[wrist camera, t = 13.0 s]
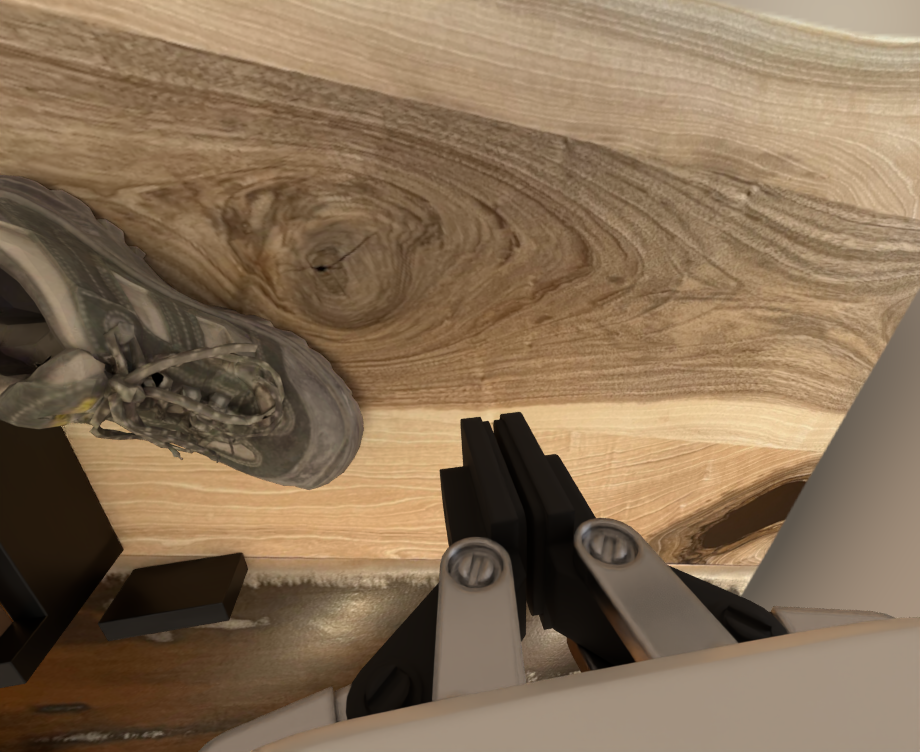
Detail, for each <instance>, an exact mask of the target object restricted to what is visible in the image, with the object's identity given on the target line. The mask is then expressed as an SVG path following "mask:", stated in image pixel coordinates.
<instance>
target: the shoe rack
mask: <svg viewBox="0 0 920 752" xmlns="http://www.w3.org/2000/svg"><path fill="white" fill-rule="evenodd" d="M122 551H123V549H122V547H121V545H120V543H119V541H118V539H117V537H116V535H115V533H114V531H113V530H112V528H111V526H110V524H109V522H108V520H107V518H106V516H105V514H104V512H103V510H102V508H101V506H100V504H99V502H98V500H97V498H96V496H95V494H94V492H93V490H92V488H91V486H90V484H89V482H88V480H87V478H86V476H85V474H84V472H83V470H82V468H81V466H80V464H79V462H78V460H77V458H76V456H75V454H74V452H73V450H72V448H71V446H70V445H69V443H68V441H67V439H66V437H65V435H64V433H63V431H62V429H61V427H60V426H56V427H50V428H43V429H34V428H27V427H19V426H16V425H13V424H10V423H8V422H5V421H2V420H1V419H0V602H1V604H2V605H3V607H4V608H5V609H6V611H7V612H8V614H9V615H10V617H11V618H12V619H13V623H12V621H11V620H10V619H9V617H8V616H7V614H6V613H5V612H4V610H3V609H2V607H1V606H0V688H3V687H9V686H14V685H20V684H25V683H26V682H27V681H28V680H29V678H30V677H31V676H32V674H33V673H34V671H35V670H36V669H37V667H38V666H39V665H40V663H41V662H42V661H43V659H44V658H45V656H46V655H47V654H48V652H49V651H50V650H51V648H52V647H53V646H54V644H55V643H56V641H57V640H58V639H59V637H60V636H61V635H62V633H63V632H64V631H65V629H66V628H67V626H68V625H69V624H70V622H71V621H72V620H73V618H74V617H75V615H76V614H77V613H78V611H79V610H80V609H81V607H82V606H83V605H84V603H85V602H86V600H87V599H88V598H89V596H90V595H91V594H92V592H93V591H94V590H95V588H96V587H97V585H98V584H99V583H100V581H101V580H102V579H103V577H104V576H105V575H106V573H107V572H108V570H109V569H110V568H111V566H112V565H113V564H114V562H115V561H116V560H117V558H118V557H119V555H120V554H121V553H122ZM247 570H248V568H247V566H246V563H245V560H244V557H243V554H242V553H238V554H232V555H225V556H219V557H213V558H206V559H200V560H193V561H187V562H180V563H174V564H167V565H161V566H154V567H148V568H141V569H135V570H133V572H132V573H131V575H130V576H129V577H128V579H127V580H126V582H125V583H124V585H123V586H122V588H121V589H120V591H119V592H118V594H117V595H116V597H115V598H114V600H113V601H112V603H111V604H110V606H109V607H108V609H107V610H106V612H105V613H104V615H103V616H102V618H101V619H100V621H99V622H98V625H99V627H100V628H101V630H102V632H103V633H104V635H105V637H106V639H107V640H108V641H112V640H118V639H123V638H129V637H135V636H141V635H147V634H153V633H159V632H164V631H170V630H176V629H182V628H188V627H194V626H199V625H205V624H211V623H217V622H223V621H228V620H229V619H230V616H231V614H232V611H233V608H234V606H235V603H236V600H237V597H238V595H239V592H240V589H241V587H242V584H243V581H244V579H245V576H246V573H247Z"/></svg>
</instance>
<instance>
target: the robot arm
mask: <svg viewBox="0 0 920 752" xmlns="http://www.w3.org/2000/svg"><path fill="white" fill-rule="evenodd" d="M493 427H494V433H493V430H492V428H491V425H490V423H489V421H484V422H482V419H481V417H474V418H466V419H461V439H462V455H463V467H455V468H448V469H440V480H441V490H442V500H443V509H444V516H445V524H446V530H447V537H448V543H449V548H448V549H447V550H446V551H445V553H444V554H443V556H442V559H441V563H440V575H439V583H438V584H437V585H436V587H435V588H434V589H433V590H432V591H431V592H430V593H429V594H428V595H427V597H426V598H425V599H424V600H423V601H422V602H421V603H420V604H419V606H418V607H417V608H416V609H415V610H414V611H413V612H412V613H411V615H410V616H409V617H408V618H407V619H406V620H405V621H404V622H403V624H402V625H401V626H400V627H399V628H398V629H397V630H396V631H395V632H394V634H393V635H392V636H391V637H390V638H389V639H388V640H387V641H386V643H385V644H384V645H383V646H382V647H381V648H380V649H379V650H378V652H377V653H376V654H375V655H374V656H373V657H372V658H371V659H370V661H369V662H368V663H367V664H366V665H365V666H364V667H363V668H362V670H361V671H360V672H359V674H358V675H357V676H356V678H355V679H354V681H353V682H352V684H351V685H349V686H346V687H344V688H342V689H339V690H337V691H335V692H333V688H332V687H329V688H327V689H325V690H322V691H320V692H317V693H315V694H313V695H310V696H308V697H306V698H303V699H301V700H299V701H296V702H294V703H292V704H289V705H287V706H285V707H282V708H280V709H278V710H275V711H273V712H271V713H268V714H266V715H264V716H261V717H259V718H257V719H254V720H252V721H250V722H247V723H245V724H243V725H240V726H238V727H236V728H233V729H231V730H229V731H226V732H224V733H222V734H220V735H219V736H217V737H215V738H214V739H212V740H211V741H209V742H207V743H206V744H205V745H204V746H203V747H202V748H201V749H200V750H199V751H198V752H920V617H912V618H911V617H909V618H894V617H892V616H890V615H887V614H883V613H878V612H873V611H860V610H840V609H820V608H819V609H818V608H800V607H780V606H773V608H772V610H771V612H768V611H767V610H765V609H764V608H763V607H761V606H759V605H757V604H755V603H753V602H751V601H749V600H747V599H745V598H743V597H740V596H738V595H736V594H733V593H731V592H729V591H726V590H724V589H722V588H719V587H717V586H715V585H712V584H710V583H708V582H706V581H703V580H701V579H699V578H696V577H694V576H692V575H689V574H687V573H685V572H682V571H680V570H678V569H675V568H673V567H671V566H668V565H667V564H666V563H665V562H664V561H663V560H662V558H661V557H660V556H659V555H658V554H657V553H656V552H655V551H654V550H653V549H652V547H651V546H650V545H649V544H648V543H647V542H646V541H645V540H644V539H643V538H642V536H641V535H640V534H639V533H638V532H636V531H635V530H634V529H633V528H632V527H630V526H628V525H626V524H625V523H623V522H620V521H617V520H614V519H609V518H596V517H595V516H594V514H593V512H592V511H591V509H590V507H589V506H588V504H587V502H586V501H585V499H584V497H583V496H582V494H581V492H580V491H579V489H578V487H577V486H576V484H575V482H574V481H573V479H572V477H571V476H570V474H569V472H568V471H567V469H566V467H565V465H564V464H563V462H562V460H561V459H560V457H559V456H558V455H556V454H552V455H544V453H543V451H542V450H541V448H540V446H539V444H538V442H537V440H536V439H535V437H534V435H533V433H532V431H531V429H530V428H529V426H528V424H527V422H526V420H525V419H524V417H523V415H522V413H521V412H515V413H507V414H501V415H500V420H494V424H493ZM526 601H527V604H528V607H529V610H530V613H531V615H532V616H534V615H539V617H540V620H541V622H542V625H543V628H544V630H546V629H551V628H554V630H556V631H557V632H559V633H561V634H562V635H564V636H566V637H567V644H568V647H569V649H570V652H571V654H572V656H573V658H574V659H575V661H576V663H577V665H578V667H579V669H580V671H581V673H578V674H573V675H567V676H562V677H557V678H552V679H546V680H541V681H536V682H531V683H526V678H525V670H524V662H523V653H522V645H521V641H522V640H523V638H524V637H525V635H526Z"/></svg>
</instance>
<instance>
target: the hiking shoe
mask: <svg viewBox="0 0 920 752" xmlns="http://www.w3.org/2000/svg"><path fill="white" fill-rule="evenodd" d="M145 255H146V254H145V253H144V252H143V251H142V250H141V249H139V248H138V247H137V246H127V244H126V243H125V241H124V232H123V231H122V230H121V229H119V228H118V227H116V226H115V225H114V224H112V223H111V222H109V221H108V220H106V219H98V220H96V219H95V217H94V215H93V213H92V211H91V209H90V208H89V207H88V206H87V205H85V204H84V203H83V202H82V201H80V200H79V199H77V198H75V197H73V196H72V195H70V194H68V193H66V192H64V191H63V190H49V189H47V188H46V187H44V186H43V185H41V184H39V183H38V182H36V181H33V180H30V179H27V178H24V177H20V176H7V175H0V419H1V420H2V421H5V422H8V423H10V424H13V425H16V426H19V427H27V428H34V429H43V428H50V427H56V426H63V425H67V424H69V423H71V422H72V423H87V424H90V425H92V426H93V428H92V429H91V430H90V432H91V433H92V434H93V435H94V436H96V437H98V438H106V439H116V440H125V439H140V440H147V441H149V442H151V443H153V444H155V445H157V446H159V447H160V448H168V449H169V450H170V451H171V452H172V453H173V456H174V457H179V458H180V459H181V460H183V458H181V457H180V453H179V452H178V451H177V450H179V451H183V452H188V453H193V452H197V453H200V454H203V455H205V456H207V457H209V458H210V459H211V460H214V461H217V463H218V462H221V463H224V464H226V465H228V466H230V467H232V468H234V469H236V470H238V471H241V472H243V473H246V474H249V475H251V476H254V477H257V478H260V479H263V480H266V481H269V482H273V483H276V484H280V485H283V486H296V487H299V488H303V489H307V490H311V489H314V488H318V487H320V486H323V485H326V484H328V483H330V482H331V481H332V480H334V479H335V478H337V477H338V476H339V475H341V474H342V473H344V471H345V470H346V469H347V467H348V466H349V464H350V463H351V462H352V460H353V459H354V457H355V455H356V453H357V451H358V449H359V447H360V444H361V440H362V435H363V431H364V427H363V418H362V414H361V411H360V408H359V405H358V403H357V402H356V401H355V399H354V398H353V397H352V391H351V390H350V389H349V388H348V386H347V385H346V384H345V382H344V380H343V379H342V378H341V377H339V376H338V375H337V374H336V373H335V372H334V371H333V370H332V366H331V363H330V362H329V361H328V360H326V359H325V358H324V357H323V356H322V355H321V354H320V353H318V352H316V351H314V350H313V349H311V348H309V347H308V345H307V343H306V341H305V340H304V339H302V338H301V337H299V336H297V335H296V334H294V333H292V332H291V331H285V330H280V329H277V328H274V326H273V325H272V323H271V322H270V321H268V320H266V319H263V318H260V317H257V316H255V315H243V314H239V313H238V312H237V311H235V310H231V309H226V308H222V307H216V306H209V305H206V304H203V303H200V302H198V301H196V300H194V299H192V298H190V297H188V296H186V295H184V294H182V293H180V292H178V291H176V290H175V289H174V288H172V287H171V286H170V285H169V284H167V283H166V282H165V281H164V280H162V279H161V278H160V277H159V276H158V275H157V274H156V273H155V272H154V271H153V270H152V269H151V268H150V266H149V265H148V264H147V263H146V262H145V261H144V260H143V259H144V257H145ZM105 420H109V421H112V422H116V423H117V424H119V425H120V426H122V427H124V428H125V429H127V430H129V431H130V432H132V433H125V432H121V431H116V430H109V429H102V428H101V427H100V425H101V423H102V422H103V421H105ZM170 443H174V444H176V445H179V446H181V447H184V448H185V449H183V448H180V447H177V446H174V445H172V444H170Z"/></svg>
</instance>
